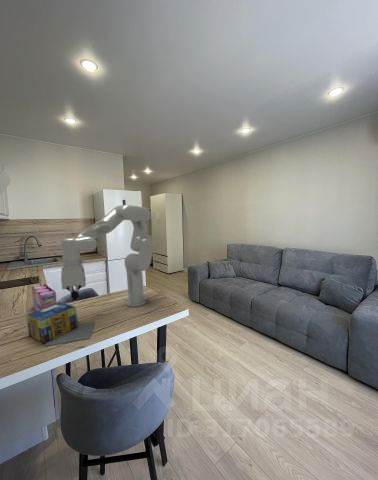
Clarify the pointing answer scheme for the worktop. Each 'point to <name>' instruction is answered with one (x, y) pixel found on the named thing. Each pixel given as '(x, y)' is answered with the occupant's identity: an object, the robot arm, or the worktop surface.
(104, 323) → the worktop surface
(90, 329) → the rubber mat
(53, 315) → the protein box
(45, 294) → the gum box
